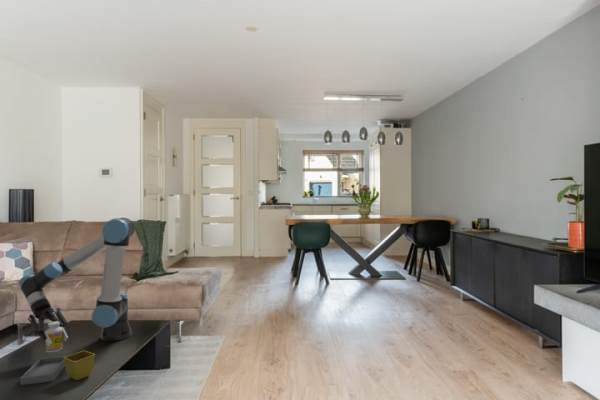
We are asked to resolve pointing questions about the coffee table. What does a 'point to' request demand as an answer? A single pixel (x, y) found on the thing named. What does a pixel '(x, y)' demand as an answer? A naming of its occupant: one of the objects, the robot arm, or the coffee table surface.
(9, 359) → the coffee table surface
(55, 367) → the tray
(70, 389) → the coffee table surface
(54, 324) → the supplement bottle
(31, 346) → the coffee table surface
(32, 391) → the coffee table surface
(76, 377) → the flower pot
